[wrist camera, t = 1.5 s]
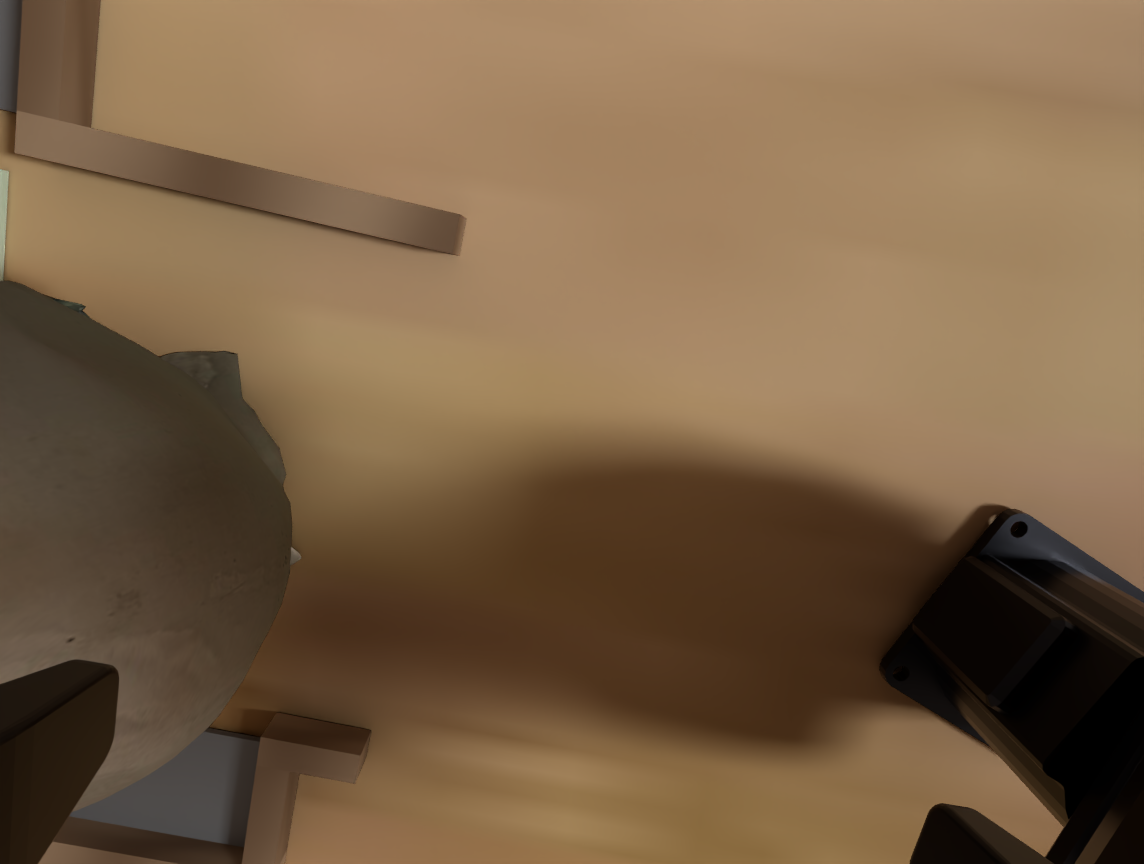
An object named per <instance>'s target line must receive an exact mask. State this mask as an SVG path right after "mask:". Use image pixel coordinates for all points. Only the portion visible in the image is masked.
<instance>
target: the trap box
mask: <svg viewBox="0 0 1144 864" xmlns="http://www.w3.org/2000/svg"><path fill="white" fill-rule="evenodd" d="M99 14H100V0H23V2H22V21H21V39H20V58H19V77H18V96H17V115H16V133H15V152H14V153H17V154H21V155H26V156H30V157H34V158H39V159H43V160H47V161H52V162H56V163H60V164H65V165H69V166H73V167H78V168H82V169H86V170H91V171H95V172H99V173H104V174H108V175H112V176H117V177H121V178H125V179H130V180H134V181H138V182H143V183H147V184H151V185H156V186H160V187H164V188H169V189H173V190H177V191H182V192H186V193H190V194H194V195H199V196H203V197H207V198H212V199H216V200H220V201H225V202H229V203H233V204H238V205H242V206H246V207H251V208H255V209H259V210H264V211H268V212H272V213H277V214H281V215H285V216H290V217H294V218H298V219H303V220H307V221H311V222H316V223H320V224H324V225H329V226H333V227H337V228H342V229H346V230H350V231H355V232H359V233H363V234H367V235H372V236H376V237H380V238H385V239H389V240H393V241H398V242H402V243H406V244H411V245H415V246H419V247H424V248H428V249H432V250H437V251H441V252H445V253H450V254H454V255H459V256H460V251H461V245H462V240H463V234H464V229H465V224H466V218H465V217H463V216H462V215H460V214H456V213H451V212H447V211H443V210H439V209H434V208H430V207H426V206H422V205H417V204H413V203H409V202H405V201H400V200H396V199H392V198H387V197H383V196H379V195H375V194H370V193H366V192H362V191H358V190H353V189H349V188H345V187H341V186H336V185H332V184H328V183H324V182H319V181H315V180H311V179H307V178H302V177H298V176H294V175H290V174H285V173H281V172H277V171H272V170H268V169H264V168H260V167H255V166H251V165H247V164H243V163H238V162H234V161H230V160H226V159H221V158H217V157H213V156H209V155H204V154H200V153H196V152H192V151H187V150H183V149H179V148H174V147H170V146H166V145H162V144H157V143H153V142H149V141H145V140H140V139H136V138H132V137H128V136H123V135H119V134H115V133H111V132H106V131H102V130H98V129H94V128H91V121H92V107H93V94H94V80H95V67H96V54H97V40H98V27H99ZM370 734H371V730H366V729H361V728H356V727H350V726H345V725H340V724H335V723H329V722H324V721H319V720H314V719H308V718H303V717H298V716H293V715H287V714H282V713H276V714H275V716H274V717H273V719H272V720H271V722H270V723H269V725H268V726H267V728H266V730H265V731H264V733H263V734H262V736H261V738H260V744H259V751H258V758H257V765H256V771H255V778H254V785H253V791H252V798H251V805H250V812H249V818H248V825H247V832H246V839H245V845H244V847H239V846H233V845H228V844H222V843H217V842H211V841H205V840H200V839H194V838H189V837H183V836H177V835H172V834H166V833H160V832H155V831H149V830H144V829H138V828H132V827H127V826H121V825H116V824H110V823H104V822H99V821H93V820H87V819H82V818H76V817H71V816H69V817H68V819H67V820H66V822H65V823H64V825H63V826H62V828H61V829H60V831H59V833H58V834H57V836H56V837H55V839H54V840H53V842H52V843H51V845H50V846H49V848H48V850H47V851H46V853H45V854H44V856H43V857H42V859H41V860H40V862H39V864H285V858H286V852H287V846H288V840H289V834H290V828H291V822H292V815H293V809H294V803H295V797H296V791H297V785H298V779H299V774H305V775H310V776H316V777H321V778H326V779H332V780H337V781H343V782H348V783H353V784H355V783H356V781H357V778H358V776H359V774H360V771H361V769H362V766H363V764H364V761H365V759H366V756H367V750H368V745H369V739H370Z"/></svg>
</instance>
